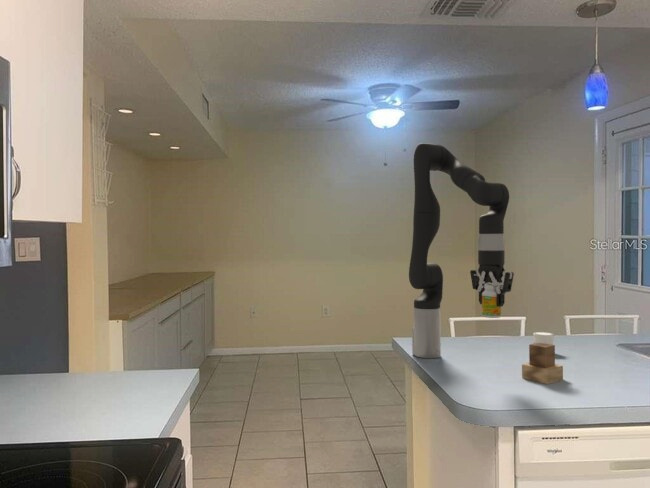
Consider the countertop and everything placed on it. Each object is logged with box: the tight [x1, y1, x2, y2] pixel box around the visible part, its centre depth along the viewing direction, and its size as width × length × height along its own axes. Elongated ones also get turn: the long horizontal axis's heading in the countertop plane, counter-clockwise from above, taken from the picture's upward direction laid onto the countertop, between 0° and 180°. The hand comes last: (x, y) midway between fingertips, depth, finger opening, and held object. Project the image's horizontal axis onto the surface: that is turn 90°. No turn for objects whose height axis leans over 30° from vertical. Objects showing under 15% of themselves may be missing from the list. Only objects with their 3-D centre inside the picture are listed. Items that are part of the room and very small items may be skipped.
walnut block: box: [528, 342, 556, 368], centre depth 139 cm, size 5×5×6 cm
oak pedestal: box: [521, 362, 564, 385], centre depth 139 cm, size 8×8×4 cm
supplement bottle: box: [481, 283, 502, 319], centre depth 142 cm, size 5×5×10 cm
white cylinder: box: [532, 331, 555, 345], centre depth 171 cm, size 7×7×7 cm
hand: (491, 304), depth 142 cm, fingers closed on supplement bottle, 5 cm apart
